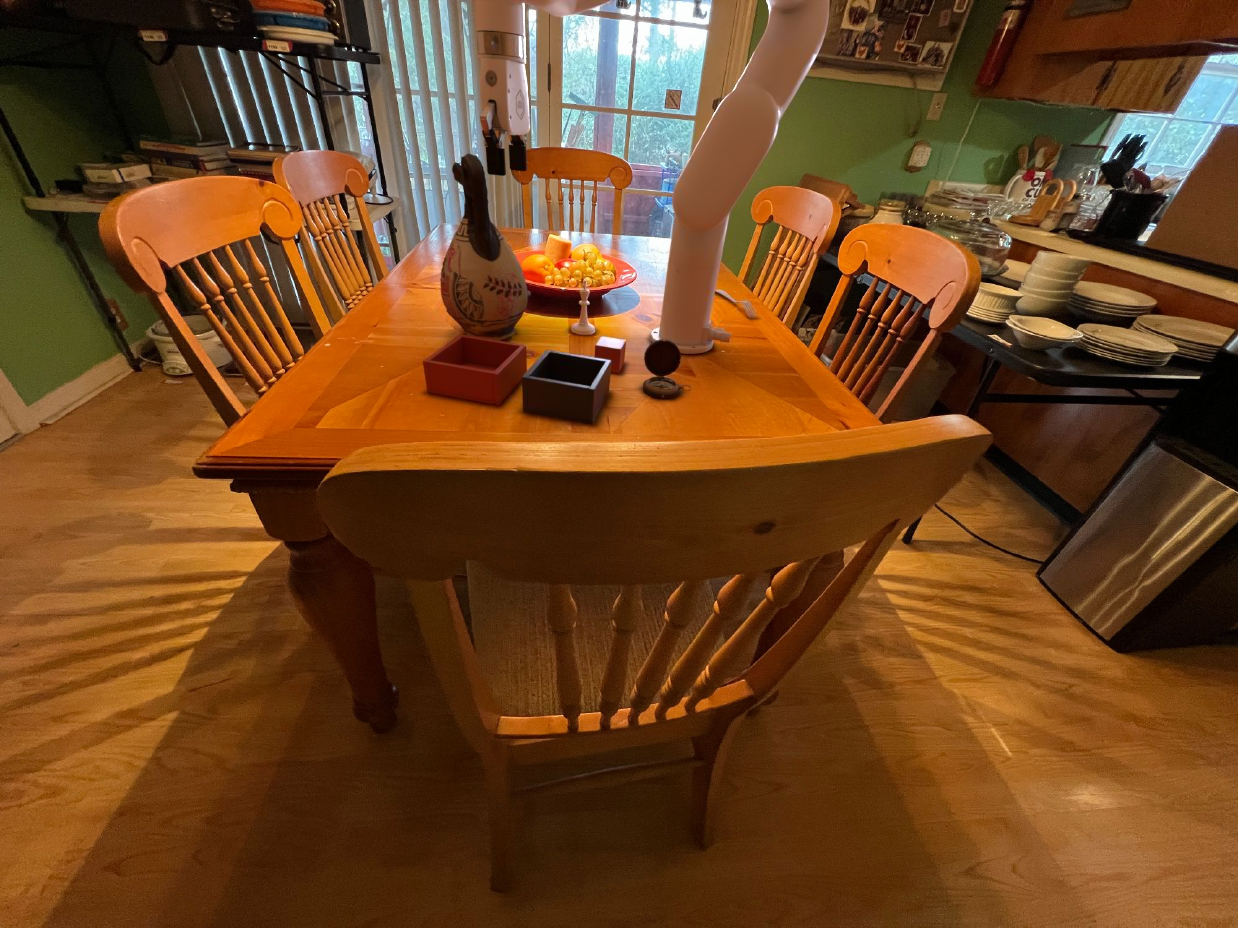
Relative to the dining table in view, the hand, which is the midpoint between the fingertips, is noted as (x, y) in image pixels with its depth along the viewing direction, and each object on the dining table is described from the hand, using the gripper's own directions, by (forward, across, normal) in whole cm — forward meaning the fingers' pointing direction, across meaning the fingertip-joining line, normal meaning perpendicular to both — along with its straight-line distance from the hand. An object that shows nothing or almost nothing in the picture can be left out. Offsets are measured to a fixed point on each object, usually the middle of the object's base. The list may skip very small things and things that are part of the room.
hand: (508, 172), depth 90 cm
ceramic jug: (+27, -11, +1) cm, 29 cm away
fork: (+27, +32, -45) cm, 61 cm away
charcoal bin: (+27, -31, -21) cm, 46 cm away
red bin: (+26, -30, -6) cm, 41 cm away
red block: (+27, -16, -24) cm, 40 cm away
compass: (+27, -21, -35) cm, 49 cm away
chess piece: (+27, -1, -15) cm, 31 cm away
